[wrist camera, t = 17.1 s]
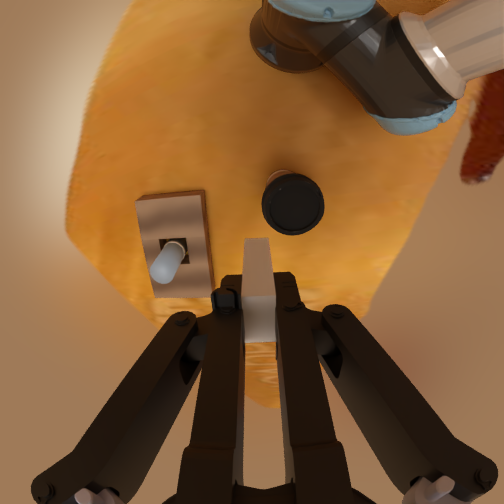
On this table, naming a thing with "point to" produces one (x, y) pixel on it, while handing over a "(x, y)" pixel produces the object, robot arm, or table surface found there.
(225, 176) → the table surface
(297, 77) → the table surface
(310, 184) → the coffee cup
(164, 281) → the peg
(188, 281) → the board
